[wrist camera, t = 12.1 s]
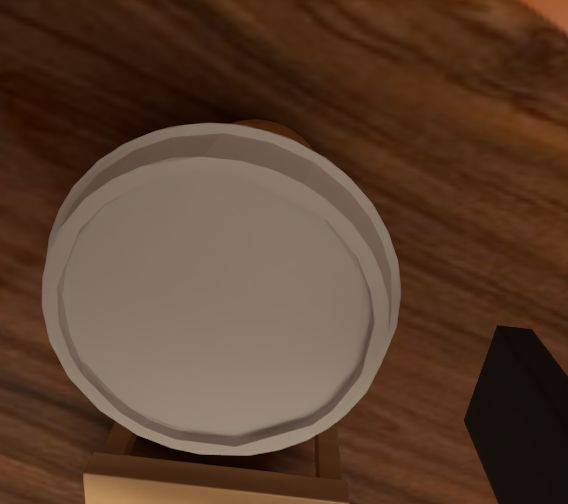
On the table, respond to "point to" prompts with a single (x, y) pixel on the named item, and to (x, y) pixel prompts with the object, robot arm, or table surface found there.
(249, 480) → the chair
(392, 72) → the table surface
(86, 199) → the disposable coffee cup
